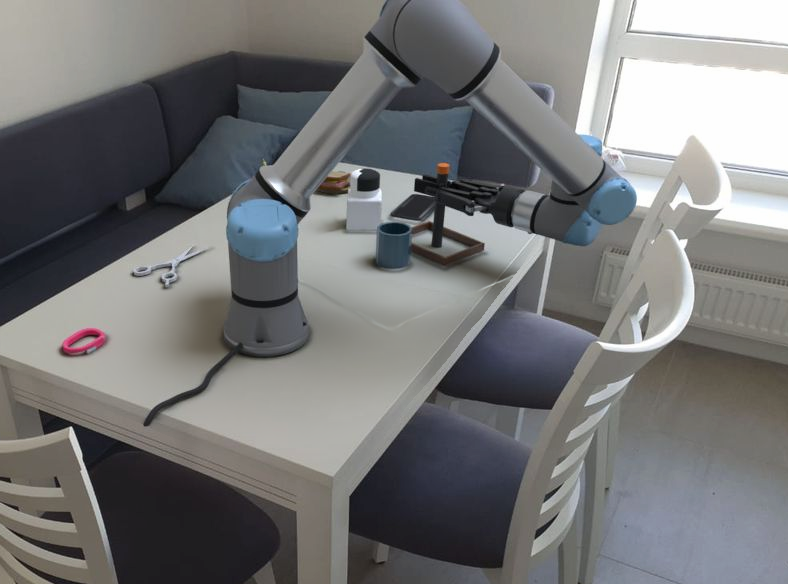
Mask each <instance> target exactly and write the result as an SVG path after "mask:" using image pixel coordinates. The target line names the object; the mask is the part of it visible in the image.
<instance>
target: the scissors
mask: <svg viewBox="0 0 788 584" xmlns="http://www.w3.org/2000/svg"><path fill="white" fill-rule="evenodd" d="M194 246H195V244H192V245H191V246H189V247H188V248H187V249H186V250H184V251H183V252H182V253H180V254H179V255H178V256H177V257H176V258H172V259H170V260H168V261H165V262H162V263H155V264H154V265H142V266H137V267H135V268H133V275H134V276H136V277H137V276H138V277H142V276H146V275H149V274H151V272H152V271H153V270H154V271H155V269H160V268H167V267H172V268H171V270H170V271H168V272H163V273H162V274H161V281H162V282H163V283H164V288H170V283H173V282H175V281H177V280H178V275H177V273H176V268H177V266H178V265H179V264H180V262H182V261H184V260H187V259H189V258H191V257H193V256H196V255H197V254H200V253H201V252H204V251H207V250H208V249H209V248H210V246H208V247H205V248H203V249H200V250H198V251H195V252H192V253H190V254H188V253H189V252H190V251H191V249H192V248H193V247H194ZM168 277H171V278H168Z"/></svg>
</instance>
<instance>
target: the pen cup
mask: <svg viewBox="0 0 788 584" xmlns="http://www.w3.org/2000/svg"><path fill="white" fill-rule="evenodd" d="M412 227H413V226H411V225H410V224H407V223H406V222H401V221H386V222H383V223H382V222H381V224H380V225H379V226H377V230H376V239H375V263H376V264H377V265H378V266H379V267H381V268H385V269H402V268H405V267H408V266H409V265H410V264H411V259H412V258H411V255H412V251H411V244H412V243H413V235H412Z"/></svg>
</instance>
